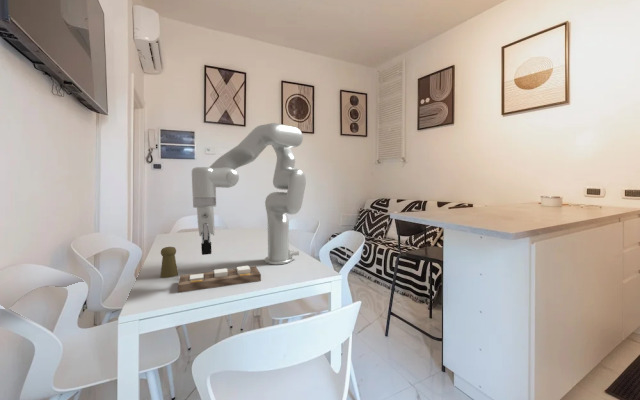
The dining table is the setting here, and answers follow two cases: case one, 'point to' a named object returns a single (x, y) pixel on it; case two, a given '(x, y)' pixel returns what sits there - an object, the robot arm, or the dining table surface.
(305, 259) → the dining table surface
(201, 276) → the outer button
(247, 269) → the inner button
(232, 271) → the button board
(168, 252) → the cork
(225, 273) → the middle button
